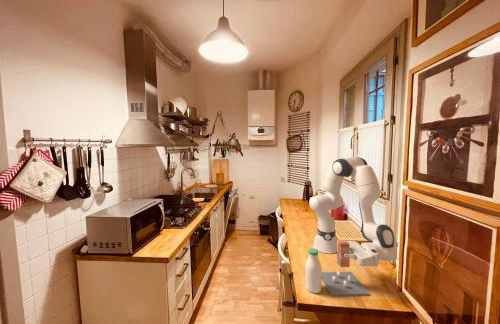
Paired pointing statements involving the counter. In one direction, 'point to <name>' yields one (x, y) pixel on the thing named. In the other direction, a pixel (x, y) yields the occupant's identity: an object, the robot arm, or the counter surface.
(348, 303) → the counter surface
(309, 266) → the milk bottle
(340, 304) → the counter surface
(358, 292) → the peg plate
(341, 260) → the terracotta post
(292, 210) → the counter surface
